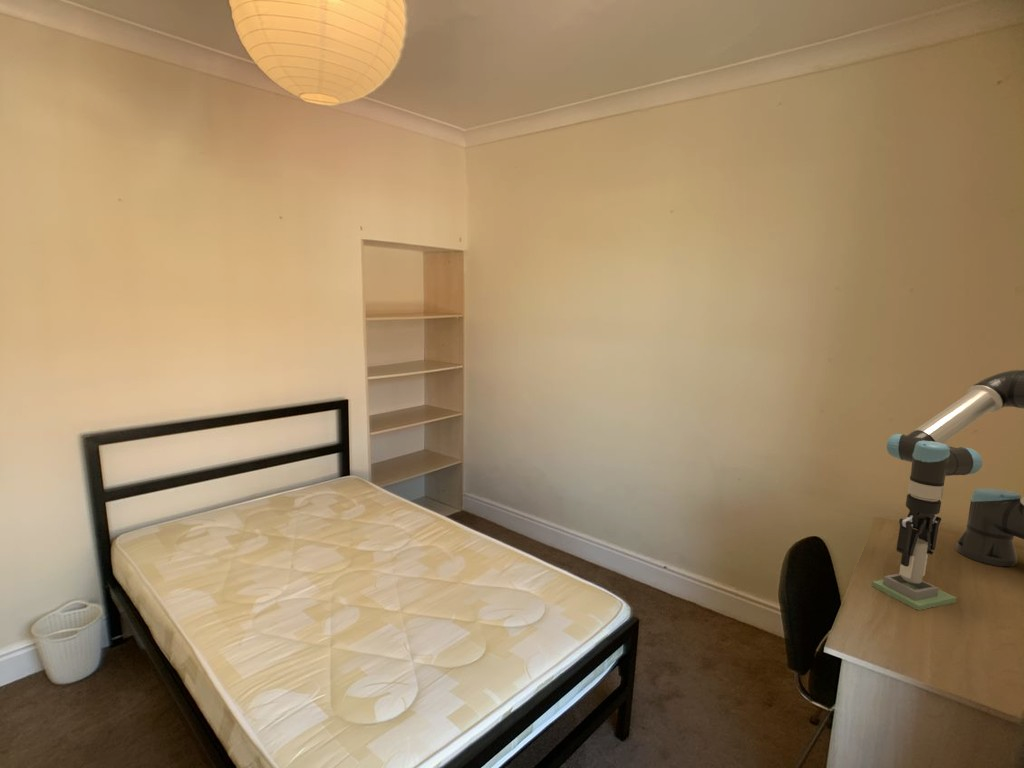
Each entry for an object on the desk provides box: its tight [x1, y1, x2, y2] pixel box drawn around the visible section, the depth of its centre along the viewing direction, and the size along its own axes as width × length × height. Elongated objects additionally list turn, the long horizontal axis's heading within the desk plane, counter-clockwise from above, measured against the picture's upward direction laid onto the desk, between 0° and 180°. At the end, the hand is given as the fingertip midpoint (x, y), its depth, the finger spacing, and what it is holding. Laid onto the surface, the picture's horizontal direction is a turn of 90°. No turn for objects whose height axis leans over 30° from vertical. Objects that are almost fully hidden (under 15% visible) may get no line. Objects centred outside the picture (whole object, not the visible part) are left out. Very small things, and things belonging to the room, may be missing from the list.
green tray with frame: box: [871, 573, 957, 611], centre depth 148 cm, size 15×13×4 cm
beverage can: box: [901, 538, 928, 584], centre depth 146 cm, size 5×5×12 cm
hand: (911, 574), depth 147 cm, fingers closed on beverage can, 5 cm apart
